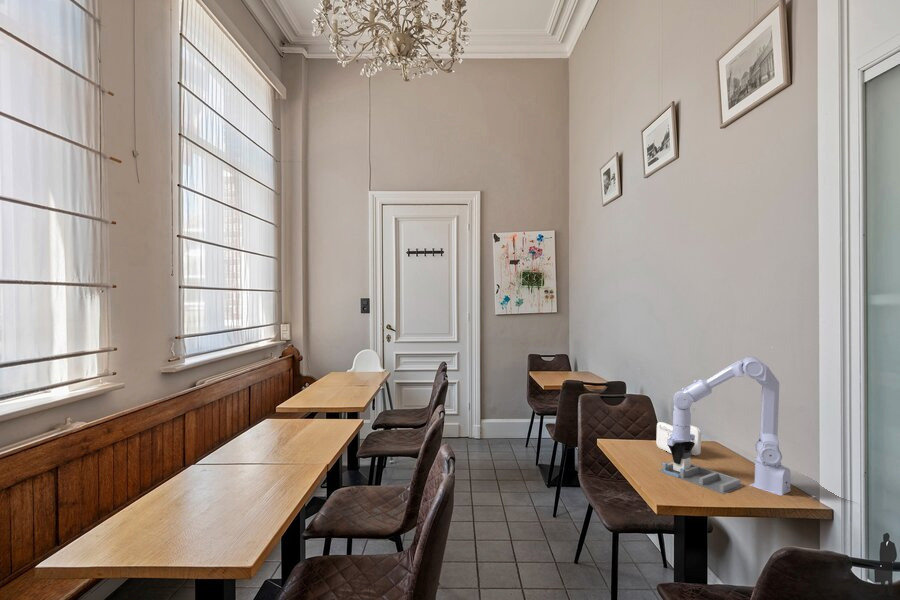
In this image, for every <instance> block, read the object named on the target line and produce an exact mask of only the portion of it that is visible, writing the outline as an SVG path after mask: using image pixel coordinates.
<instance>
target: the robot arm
mask: <svg viewBox="0 0 900 600" xmlns="http://www.w3.org/2000/svg"><path fill="white" fill-rule="evenodd" d="M744 374H745V376H747V377H749V378H751V379H753V380H754V381H756V382H757V383H758V384H759V385H761V405H760V406H761V407H760V432H759V434H758V440H757V442H756V443H755V451H756V453H757V455H756V457H755V459H754V482H753V483H750V484H749V487H753V488H757V489H759V490H762V491H766V492H769V493H771V494H774V495H778V496H783V495H785V494H788V493H789V492H790V493H791V491H792V490H791V479H792V478H791V475H792V474H791V469H790V468H789V467H786V466H784V465H783V464H782V462H781V461H782V459H783V454H782V452H781V450H780V444H779V437H778V435H779V430H778V429H779V408H780V407H779V405H780V404H779V403H780V382H779V379H778V378H777V377H776V375H775V374H774V373H773V372H772V370H771V369H770V367H769V366H768V365H767V364H765V363H764V362H763V361H762V360H760V359H758V358H757V357H755V356H746V357H744V358H742V359H740V360H737V361H735V362H733V363H731V364H729V365H728V366H726V367H724V368H723V369H722V370H720V371H718V372H717V373H715V374H714V375H712V376H711V377H709V378H708V379H698V380H697V379H695V380H693V383H691V384H689V385H688V386H686V387H682V388H681V390H678V391H676V392H675V393H674V395H673V398H672V400H673V401H672V402H673V411H672V426H673V434H670V438H669V439H667V445H668V446H669V448H670V450H671V453H672V454H671V453H670V454H671V456H672V462H673V461H674V463H676V464H680V463H681V458H682V453H683V450H686V451H689V452H691V450H692V448H693V447H694V445H695V443H694V442H691V440H695V435H694V434H690V425H691V422H692V421H691V420H692V419H691V416H692V415H691V406H692V403H697V402H698V401H700V400H702V399H703V398H705V397H707V396H709V395H710V394H712V391H713V388H715V387H717V386H719V385H721V384H723V383H724V382H726V381H728V380H730V379H732V378H736V377H737V378H744V377H745V376H744Z"/></svg>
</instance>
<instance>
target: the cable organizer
mask: <svg viewBox="0 0 900 600" xmlns="http://www.w3.org/2000/svg"><path fill="white" fill-rule="evenodd" d="M670 434H673V424H672V425H671V424H669V423H666V422H664V421H663V422H662V421H661V422H660V421H659V422H657V423H656V446H657V447H658V449H660V450H661V449H663V450H665V451H667V452H666V453H669V454H671V455H672V453H671V450H670V448H669V446H668V445H667V439H669V438H670ZM690 434H694V435H695V440H691V442H694V443H695V445H694V447H693V448H692V450H691V454H692V455H691V456H693V455H695V456H699V455H700V454H701V453H702V452H701V451H702V431H701V429H700V428H699V427H697V426H695V425H691V424H690ZM663 450H662V451H663ZM665 451H664V452H665Z"/></svg>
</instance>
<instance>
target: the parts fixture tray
mask: <svg viewBox="0 0 900 600" xmlns="http://www.w3.org/2000/svg"><path fill="white" fill-rule="evenodd" d="M657 471H658V472H660V473H663V474H667V475H669V476H671V477H674V478H676V479H680V480H682V481H684V482H688V483H690V484H693V485H696V486H699V487H701V488H705V489H707V490H711V491H713V492H716V493H719V494H722V495H726V494H728V493H730V492H732V491H735V490H737V489H740V488H742V487H744V485H742V484H741V479H740V478H737V477H734V476H730V475H727V474H724V473H722V472H718V471H714V470H711V469H709V468H706V467H702V466H699V465H697V464H693V463H691V462H690V468H688V469H683V468H682V469H680V472H679V471H676V470H673V461H671V462H669V463H667V462H662V463H661V469H659V470H657Z"/></svg>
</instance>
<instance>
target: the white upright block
mask: <svg viewBox="0 0 900 600" xmlns="http://www.w3.org/2000/svg"><path fill="white" fill-rule="evenodd" d="M691 456H692V455H691V452H689V451H686V450H683V453H682V458H681V463H680V464H676V463H674V461H673V460H672V462H673V470H676V471H679V472H680V469H682V468H683V469H688V468H690V463H691Z"/></svg>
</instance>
